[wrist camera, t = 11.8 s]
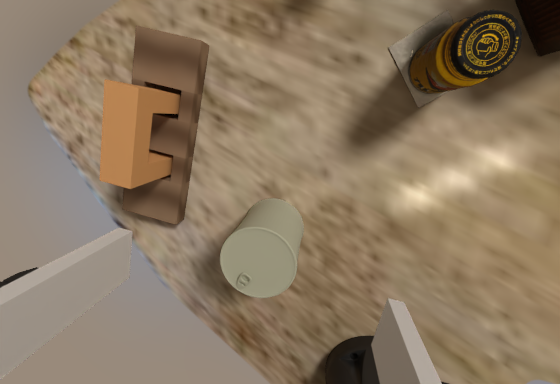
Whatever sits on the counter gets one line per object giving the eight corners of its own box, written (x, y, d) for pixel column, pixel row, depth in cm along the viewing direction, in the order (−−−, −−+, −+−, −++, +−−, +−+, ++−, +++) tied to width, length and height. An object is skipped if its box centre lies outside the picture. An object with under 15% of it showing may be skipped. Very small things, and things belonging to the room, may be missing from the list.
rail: (183, 219, 45) (176, 224, 42) (132, 204, 45) (122, 209, 43) (209, 45, 37) (201, 40, 35) (147, 31, 38) (136, 25, 36)
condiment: (418, 108, 36) (463, 103, 24) (388, 47, 34) (421, 12, 23) (475, 75, 34) (554, 53, 22) (446, 10, 33) (513, -49, 21)
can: (234, 231, 44) (203, 271, 32) (265, 186, 41) (244, 212, 30) (281, 264, 44) (267, 315, 33) (315, 221, 42) (313, 260, 30)
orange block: (175, 172, 43) (130, 189, 33) (151, 166, 43) (99, 180, 33) (185, 95, 40) (138, 87, 30) (159, 89, 40) (104, 79, 30)
